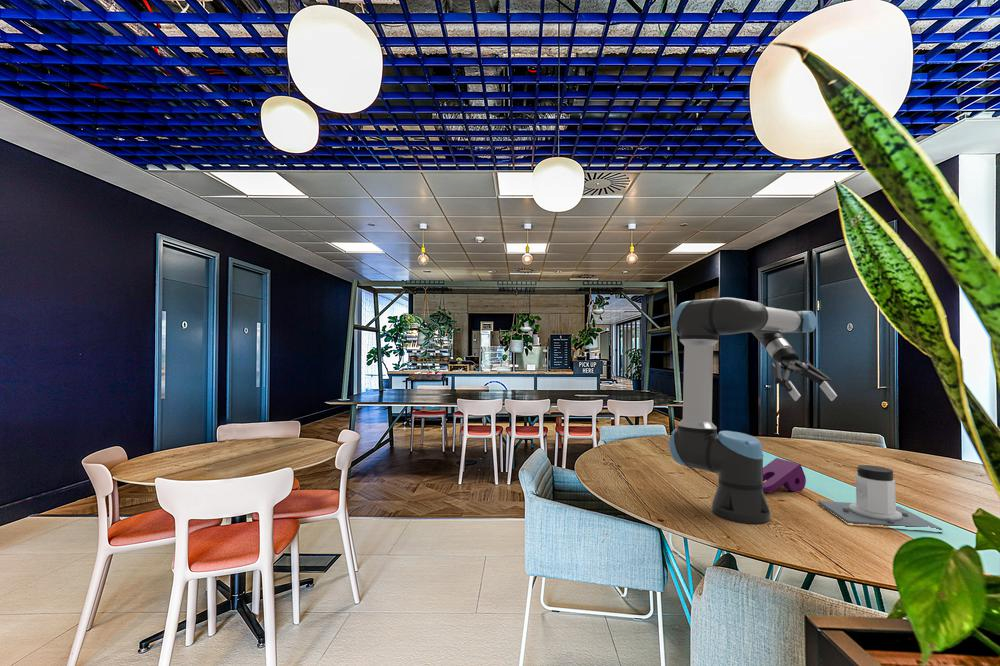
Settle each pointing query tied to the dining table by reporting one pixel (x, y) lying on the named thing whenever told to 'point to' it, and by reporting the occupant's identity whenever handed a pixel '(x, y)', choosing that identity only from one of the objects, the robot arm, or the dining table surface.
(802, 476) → the mounting bracket
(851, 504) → the board
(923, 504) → the dining table surface
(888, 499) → the jar
